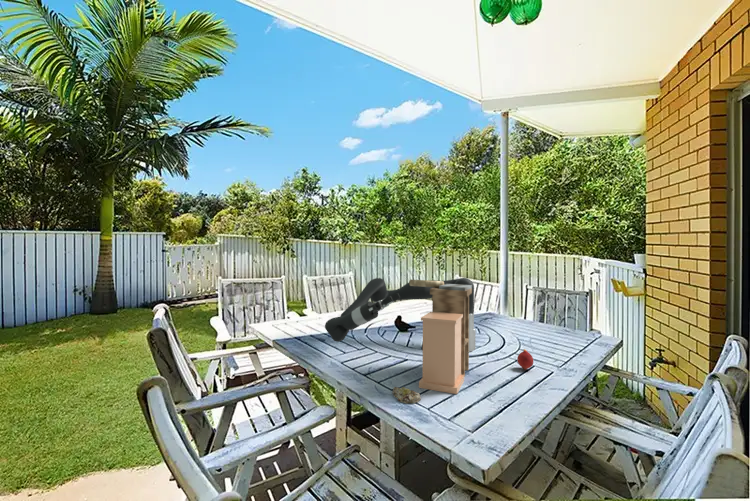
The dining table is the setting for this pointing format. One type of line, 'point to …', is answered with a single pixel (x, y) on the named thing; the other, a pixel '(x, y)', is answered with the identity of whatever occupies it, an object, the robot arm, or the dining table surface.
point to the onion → (525, 359)
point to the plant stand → (458, 305)
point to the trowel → (439, 285)
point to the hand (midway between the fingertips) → (395, 296)
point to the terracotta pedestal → (442, 352)
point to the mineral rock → (406, 395)
